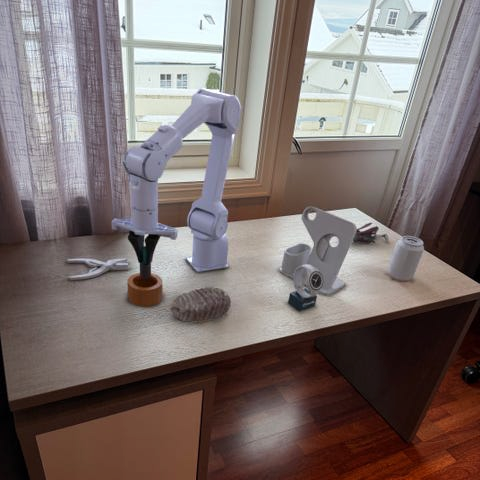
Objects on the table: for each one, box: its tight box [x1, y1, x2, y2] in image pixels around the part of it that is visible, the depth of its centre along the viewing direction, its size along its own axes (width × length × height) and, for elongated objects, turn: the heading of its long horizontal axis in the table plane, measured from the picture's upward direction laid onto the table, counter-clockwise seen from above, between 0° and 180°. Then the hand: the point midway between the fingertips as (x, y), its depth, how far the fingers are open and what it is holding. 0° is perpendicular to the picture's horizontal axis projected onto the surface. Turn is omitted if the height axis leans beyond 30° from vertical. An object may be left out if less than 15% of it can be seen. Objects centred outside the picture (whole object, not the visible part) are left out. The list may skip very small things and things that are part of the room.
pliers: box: [66, 257, 129, 281], centre depth 117 cm, size 10×2×15 cm
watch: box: [287, 264, 324, 313], centre depth 111 cm, size 6×8×11 cm
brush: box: [139, 245, 152, 279], centre depth 104 cm, size 3×3×8 cm
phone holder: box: [279, 205, 358, 296], centre depth 121 cm, size 17×10×18 cm, turn 47°
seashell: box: [170, 286, 232, 323], centre depth 104 cm, size 14×9×10 cm
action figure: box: [352, 222, 390, 244], centre depth 149 cm, size 8×6×18 cm
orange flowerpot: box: [126, 272, 164, 307], centre depth 108 cm, size 8×8×5 cm
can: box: [387, 235, 425, 282], centre depth 129 cm, size 8×8×12 cm
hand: (145, 261), depth 104 cm, fingers closed on brush
